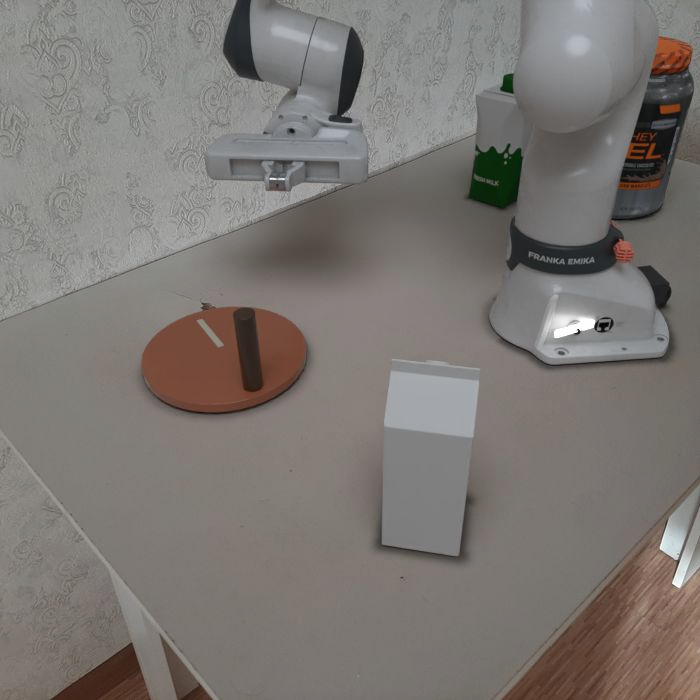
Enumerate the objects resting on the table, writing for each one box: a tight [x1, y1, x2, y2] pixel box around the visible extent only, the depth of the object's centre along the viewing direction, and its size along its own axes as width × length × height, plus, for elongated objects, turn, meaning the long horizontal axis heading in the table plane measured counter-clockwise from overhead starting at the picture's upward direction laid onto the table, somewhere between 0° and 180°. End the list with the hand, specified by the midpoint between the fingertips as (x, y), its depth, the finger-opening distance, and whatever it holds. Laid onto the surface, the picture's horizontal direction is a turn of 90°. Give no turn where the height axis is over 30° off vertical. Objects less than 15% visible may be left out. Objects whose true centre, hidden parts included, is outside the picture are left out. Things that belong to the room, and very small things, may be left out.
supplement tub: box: [611, 35, 695, 220], centre depth 116 cm, size 16×16×26 cm
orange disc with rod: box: [140, 306, 307, 413], centre depth 85 cm, size 20×20×11 cm
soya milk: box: [468, 72, 534, 209], centre depth 120 cm, size 9×9×20 cm
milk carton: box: [381, 358, 482, 557], centre depth 62 cm, size 7×7×19 cm
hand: (277, 185), depth 83 cm, fingers closed
